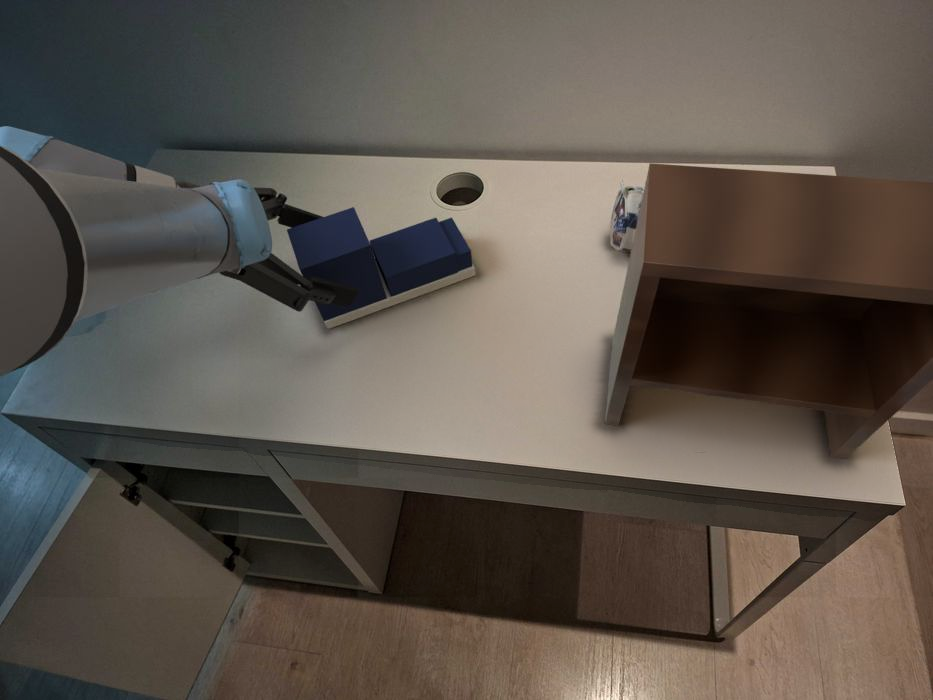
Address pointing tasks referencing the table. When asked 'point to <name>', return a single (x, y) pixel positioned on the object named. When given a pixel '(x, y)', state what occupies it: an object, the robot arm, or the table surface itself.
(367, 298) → the blue blocks on base
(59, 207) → the robot arm
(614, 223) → the pencil case
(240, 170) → the table surface
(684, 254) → the brown box
